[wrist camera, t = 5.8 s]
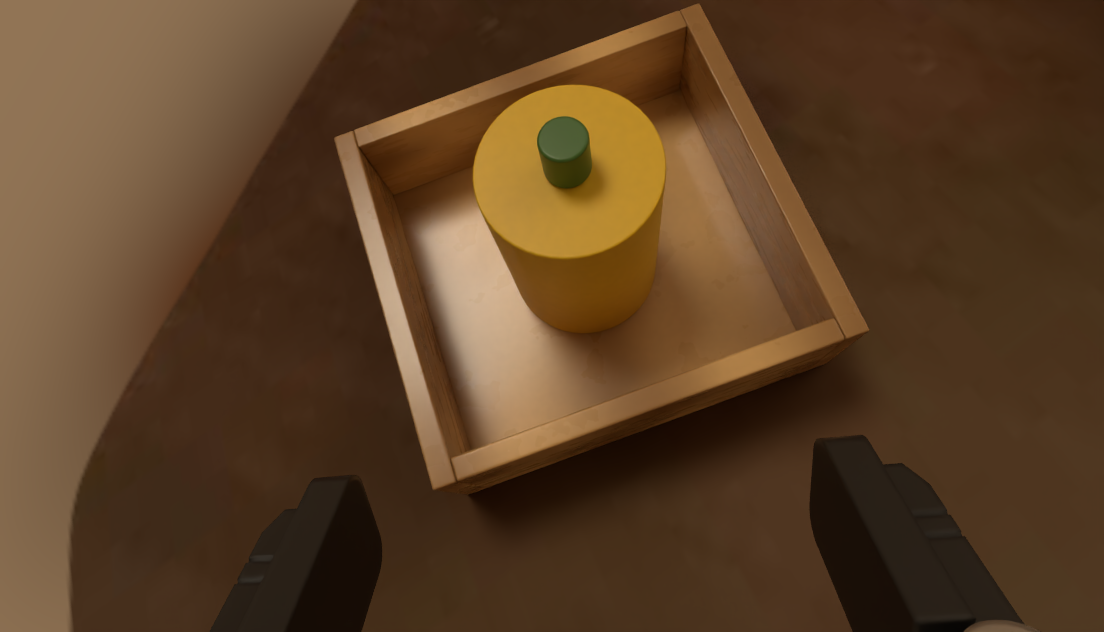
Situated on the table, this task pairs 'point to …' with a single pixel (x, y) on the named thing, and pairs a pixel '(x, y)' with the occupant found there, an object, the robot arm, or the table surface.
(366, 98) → the table surface
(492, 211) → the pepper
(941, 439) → the table surface
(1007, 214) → the table surface
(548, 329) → the tray
